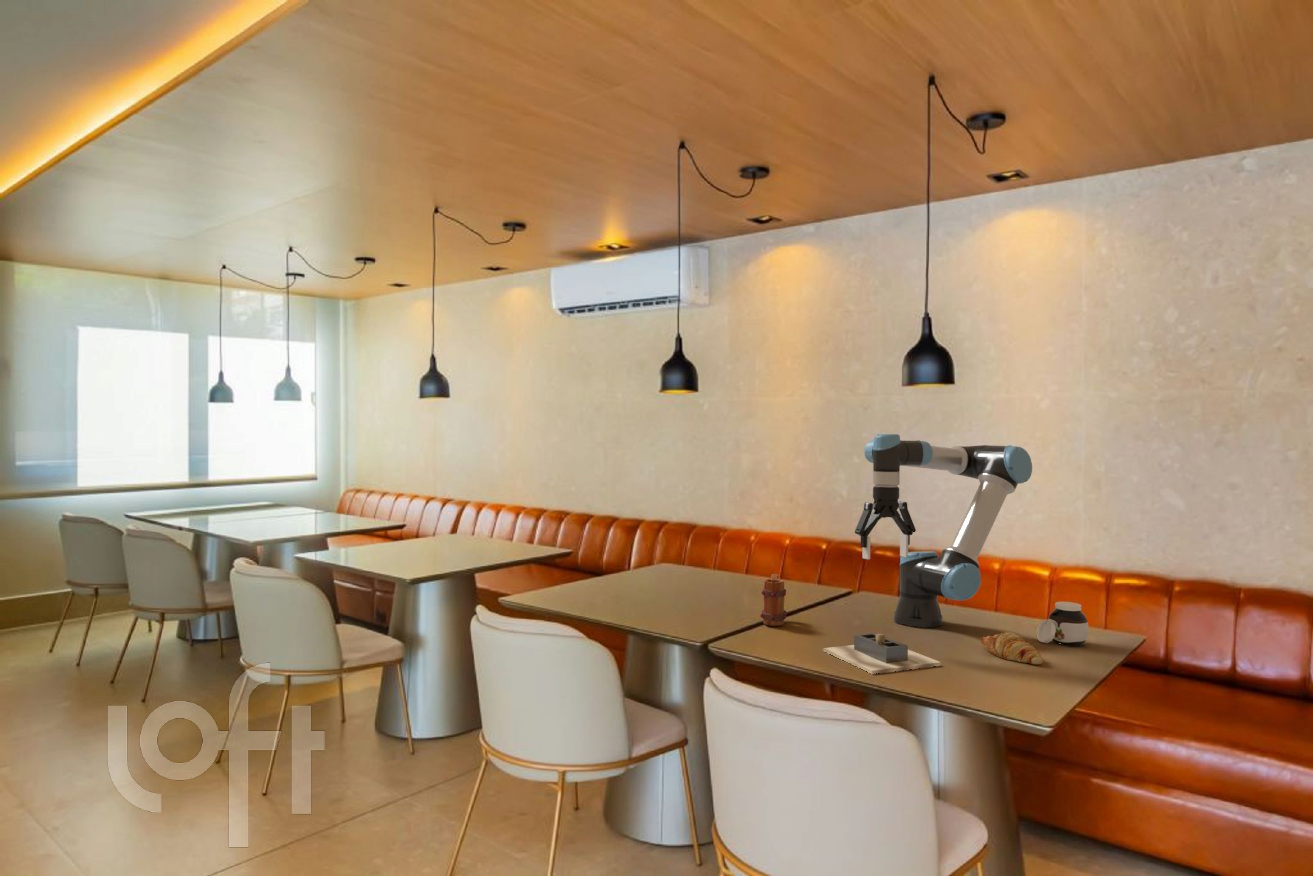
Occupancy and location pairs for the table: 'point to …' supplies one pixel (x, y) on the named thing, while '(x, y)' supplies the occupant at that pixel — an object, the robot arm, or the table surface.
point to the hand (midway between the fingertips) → (885, 557)
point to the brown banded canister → (773, 601)
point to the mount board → (878, 666)
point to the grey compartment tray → (881, 648)
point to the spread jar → (1064, 625)
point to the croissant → (1011, 648)
